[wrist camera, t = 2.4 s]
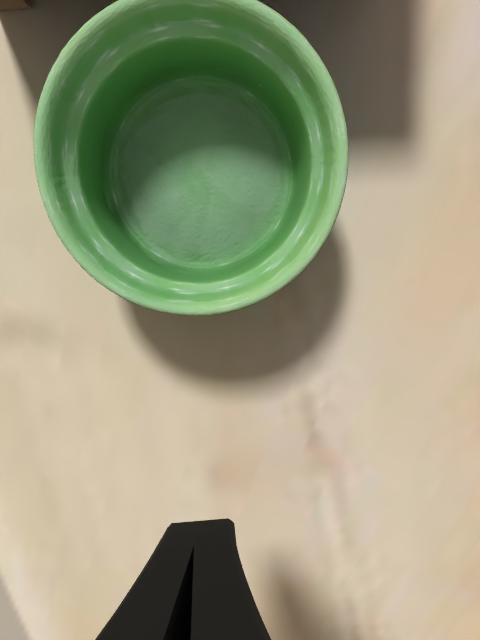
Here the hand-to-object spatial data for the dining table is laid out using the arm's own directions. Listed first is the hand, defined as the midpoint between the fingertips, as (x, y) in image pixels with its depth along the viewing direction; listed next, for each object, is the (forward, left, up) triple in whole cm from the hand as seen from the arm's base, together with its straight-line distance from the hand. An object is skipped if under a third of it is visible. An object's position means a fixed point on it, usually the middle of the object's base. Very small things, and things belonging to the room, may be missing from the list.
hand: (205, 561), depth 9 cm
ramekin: (+7, -6, -10) cm, 13 cm away
